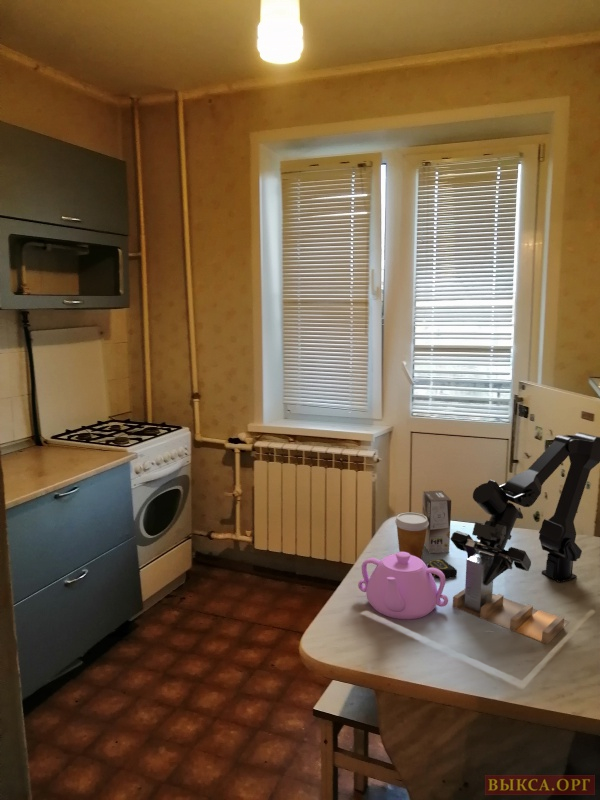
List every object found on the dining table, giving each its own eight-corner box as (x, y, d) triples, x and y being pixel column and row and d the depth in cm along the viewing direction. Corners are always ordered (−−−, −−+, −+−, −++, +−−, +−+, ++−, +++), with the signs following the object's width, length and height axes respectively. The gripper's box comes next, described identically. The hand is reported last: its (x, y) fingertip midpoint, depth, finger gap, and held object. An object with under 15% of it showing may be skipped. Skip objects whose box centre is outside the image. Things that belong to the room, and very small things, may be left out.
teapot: (341, 625, 140) (342, 569, 138) (367, 583, 160) (368, 534, 157) (438, 645, 132) (441, 586, 130) (452, 599, 152) (454, 546, 149)
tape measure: (457, 581, 162) (458, 567, 161) (435, 584, 160) (435, 571, 159) (444, 569, 168) (444, 557, 167) (422, 573, 166) (422, 560, 165)
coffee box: (450, 552, 179) (452, 500, 176) (428, 553, 178) (430, 501, 175) (440, 540, 188) (442, 490, 185) (420, 540, 187) (421, 490, 184)
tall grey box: (476, 597, 150) (479, 551, 148) (491, 602, 147) (494, 556, 145) (464, 606, 146) (466, 559, 144) (479, 612, 143) (482, 564, 141)
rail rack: (477, 591, 155) (478, 579, 155) (569, 625, 140) (570, 611, 139) (452, 610, 146) (453, 596, 146) (546, 648, 131) (548, 633, 130)
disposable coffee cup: (432, 555, 177) (433, 515, 175) (420, 567, 169) (421, 526, 167) (401, 547, 182) (403, 509, 180) (388, 559, 174) (389, 519, 172)
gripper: (455, 499, 152) (430, 555, 146) (528, 518, 139) (504, 580, 133) (470, 521, 159) (446, 574, 153) (541, 541, 146) (518, 600, 140)
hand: (476, 581), depth 144 cm, fingers closed on tall grey box, 4 cm apart
